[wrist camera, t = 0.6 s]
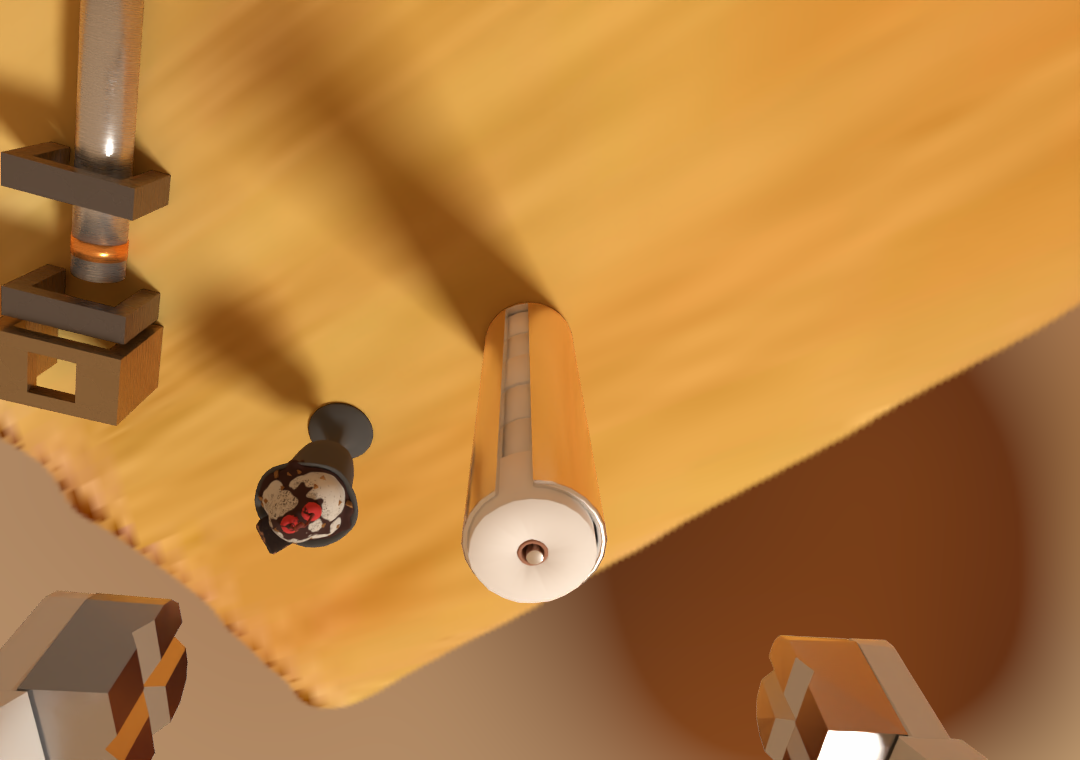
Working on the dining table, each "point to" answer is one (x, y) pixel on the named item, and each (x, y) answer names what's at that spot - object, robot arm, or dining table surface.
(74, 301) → the collar
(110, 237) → the tube
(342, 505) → the sundae
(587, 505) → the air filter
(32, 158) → the collar
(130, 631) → the robot arm
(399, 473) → the dining table surface
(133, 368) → the aperture bridge
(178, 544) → the dining table surface
